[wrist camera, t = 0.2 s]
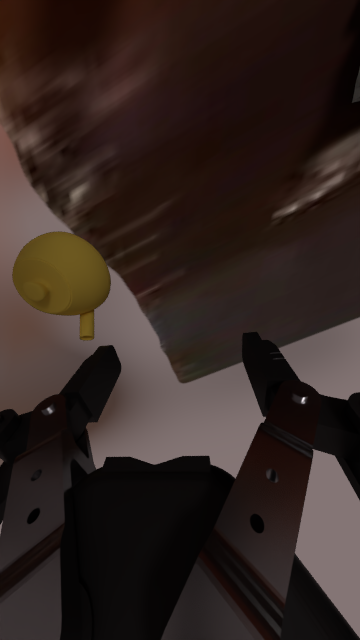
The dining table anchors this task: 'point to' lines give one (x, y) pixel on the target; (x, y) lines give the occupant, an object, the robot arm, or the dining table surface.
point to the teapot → (63, 277)
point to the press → (357, 89)
